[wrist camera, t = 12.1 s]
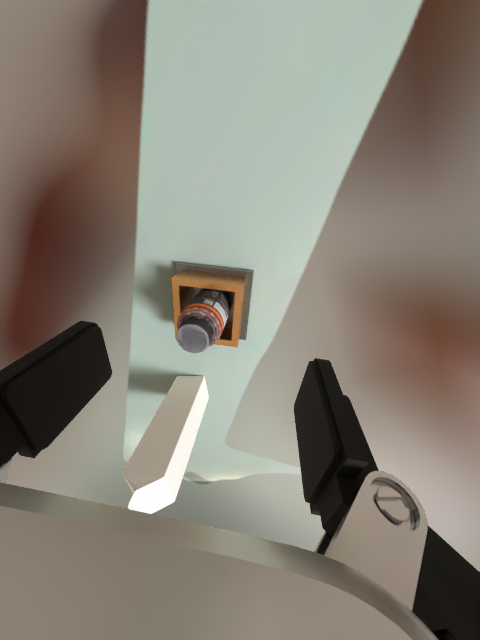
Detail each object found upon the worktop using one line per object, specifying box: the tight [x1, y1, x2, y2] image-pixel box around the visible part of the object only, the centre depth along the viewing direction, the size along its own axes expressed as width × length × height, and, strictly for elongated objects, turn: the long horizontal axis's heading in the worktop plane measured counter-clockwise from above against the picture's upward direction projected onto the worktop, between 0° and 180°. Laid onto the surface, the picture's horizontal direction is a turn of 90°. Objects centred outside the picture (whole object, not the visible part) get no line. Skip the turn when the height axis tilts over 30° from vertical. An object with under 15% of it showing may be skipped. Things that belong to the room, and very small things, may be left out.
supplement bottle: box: [176, 288, 231, 353], centre depth 30 cm, size 6×6×11 cm
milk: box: [122, 376, 209, 514], centre depth 35 cm, size 6×6×22 cm
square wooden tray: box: [171, 262, 254, 347], centre depth 33 cm, size 12×12×5 cm
